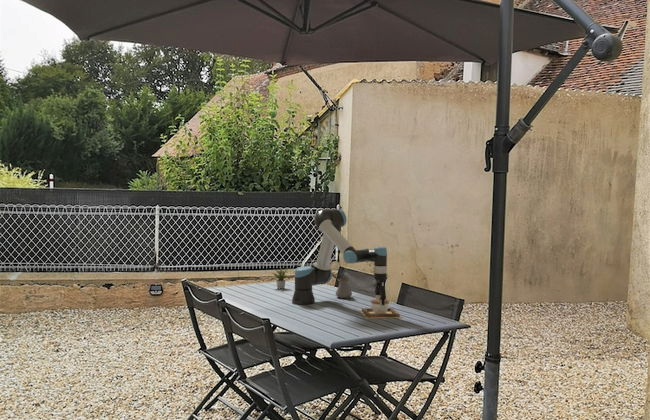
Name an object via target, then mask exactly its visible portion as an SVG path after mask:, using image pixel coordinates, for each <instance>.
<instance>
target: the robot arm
mask: <svg viewBox="0 0 650 420" xmlns="http://www.w3.org/2000/svg"><path fill="white" fill-rule="evenodd" d="M347 220H348V218H347V216H346V213H345V211H344V210H342V209H339V208H333V209H331V208H330V209H323V208H322V209H320V210H318V211H317V212H316V214H315V216H314V221H313V222H314V225H315V227H316V229H318V230H319V232H321V233H323V234H322V239H321V244H320V247H319V250H318V256H317V259H316V261H315V262H314V263H313V264H312V265H313V266H310V265H309V266H308V265H305V266H299V267H297V268H295V270H294V292H293V295H292V297H291V298H292V299H291V303H292V304H294V305H313V304H315V303H316V298H315V295H314V293H313V286H318V285H320V286H321V285H326V284H329V283H330V282H331V281H332V278H333V276H332V274H333V273H332V272H333V271H332V269H331V266H330V262H331V258H332V255H333V250H334V248H335V247H336V248H337V249H338V250H339V252H340V253H341V254H342V255H343V256H342V258H343V262H344V263H346V264H357V263H366V262H369V263H370V262H371V263H374V265H373V268H372V269H373V270H374V273H373V279H374V280H375V288H374V294H375V299H379V298H380V310H381V311H383V310H385V300H387V294H386V293H387V292H386V283H385V282H384V281H386V280H387V279H388V264H387V263H388V252H387V250H388V249H387V247H385V246H374V249H370V248H361V249H356V248H355V247H354V246H353V245H352V244H351V243H350V242H349V241H348V240H347V238H346V237H344V235H343V234H342V233H341V229H342V228H343V227H345V226H346V224H347Z"/></svg>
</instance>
